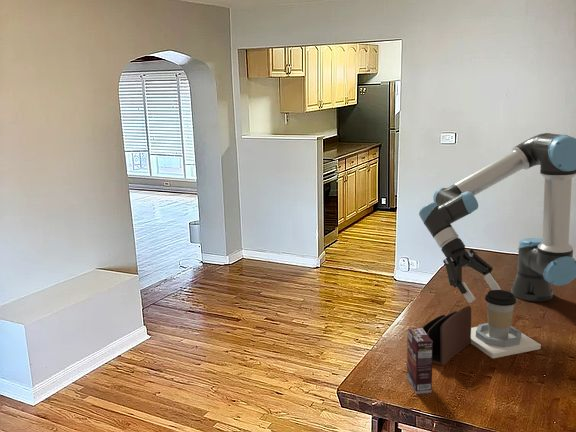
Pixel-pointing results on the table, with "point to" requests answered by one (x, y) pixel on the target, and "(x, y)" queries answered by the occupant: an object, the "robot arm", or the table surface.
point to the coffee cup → (499, 313)
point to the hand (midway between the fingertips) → (485, 296)
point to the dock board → (501, 350)
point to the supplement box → (419, 360)
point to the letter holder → (449, 334)
